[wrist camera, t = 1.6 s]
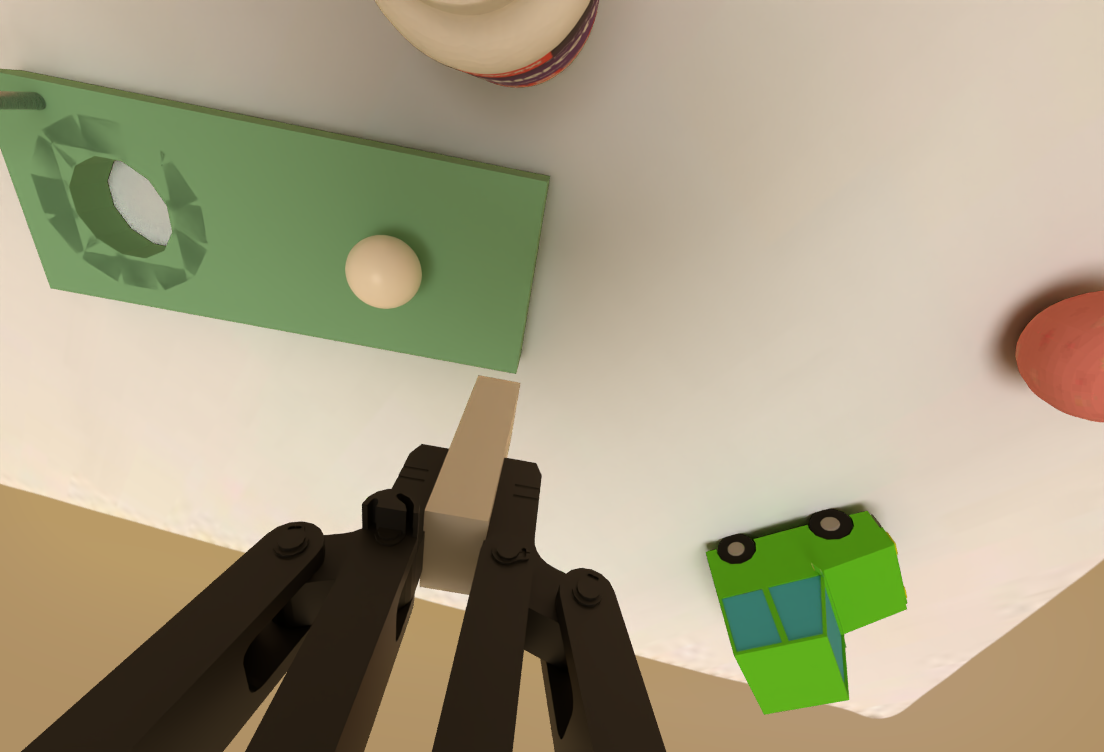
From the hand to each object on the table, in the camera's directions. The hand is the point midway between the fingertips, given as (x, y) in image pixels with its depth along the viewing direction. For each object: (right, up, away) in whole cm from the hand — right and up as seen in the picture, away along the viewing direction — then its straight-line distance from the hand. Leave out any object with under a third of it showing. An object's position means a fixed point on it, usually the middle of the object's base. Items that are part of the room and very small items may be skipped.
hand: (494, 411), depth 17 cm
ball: (-7, +8, +11) cm, 15 cm away
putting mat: (-14, +11, +13) cm, 22 cm away
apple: (+34, +4, +13) cm, 37 cm away
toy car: (+23, -14, +24) cm, 36 cm away
